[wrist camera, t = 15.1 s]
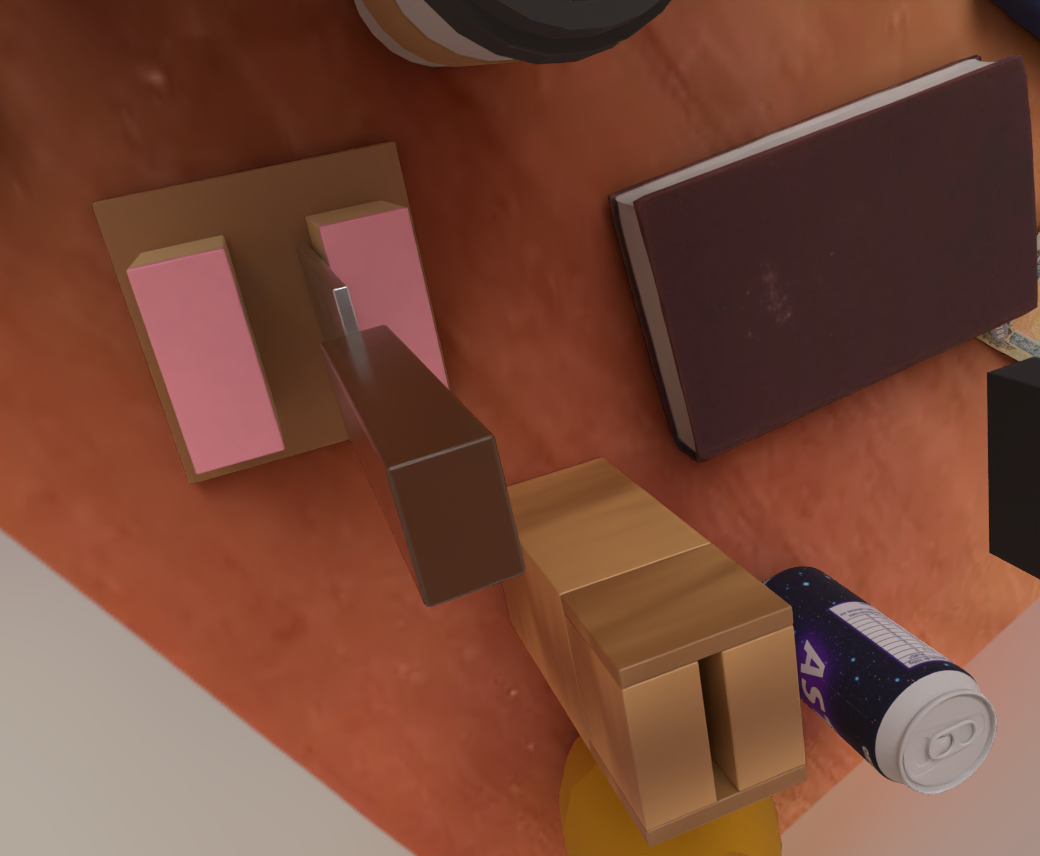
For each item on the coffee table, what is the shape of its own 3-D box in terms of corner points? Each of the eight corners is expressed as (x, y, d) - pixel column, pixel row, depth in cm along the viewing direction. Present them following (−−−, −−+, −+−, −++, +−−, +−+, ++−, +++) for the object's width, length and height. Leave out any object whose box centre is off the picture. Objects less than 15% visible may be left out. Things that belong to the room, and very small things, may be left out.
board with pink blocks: (94, 201, 32) (67, 211, 26) (390, 140, 34) (423, 138, 29) (190, 477, 35) (184, 536, 30) (450, 403, 38) (489, 446, 32)
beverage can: (727, 581, 45) (887, 717, 35) (820, 543, 47) (1003, 662, 36) (742, 670, 47) (897, 824, 37) (831, 631, 49) (1007, 769, 38)
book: (994, 304, 46) (1047, 314, 43) (671, 449, 42) (706, 472, 39) (967, 54, 41) (1026, 46, 38) (602, 194, 37) (635, 197, 34)
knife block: (481, 493, 40) (618, 671, 26) (602, 456, 41) (792, 606, 27) (510, 624, 42) (649, 849, 28) (624, 584, 43) (808, 780, 30)
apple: (719, 668, 47) (866, 818, 36) (666, 822, 49) (790, 1008, 38) (554, 653, 43) (663, 816, 33) (504, 821, 45) (591, 1025, 35)
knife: (277, 249, 33) (363, 396, 13) (323, 238, 33) (478, 361, 13) (315, 373, 35) (444, 670, 15) (359, 361, 35) (542, 633, 15)
